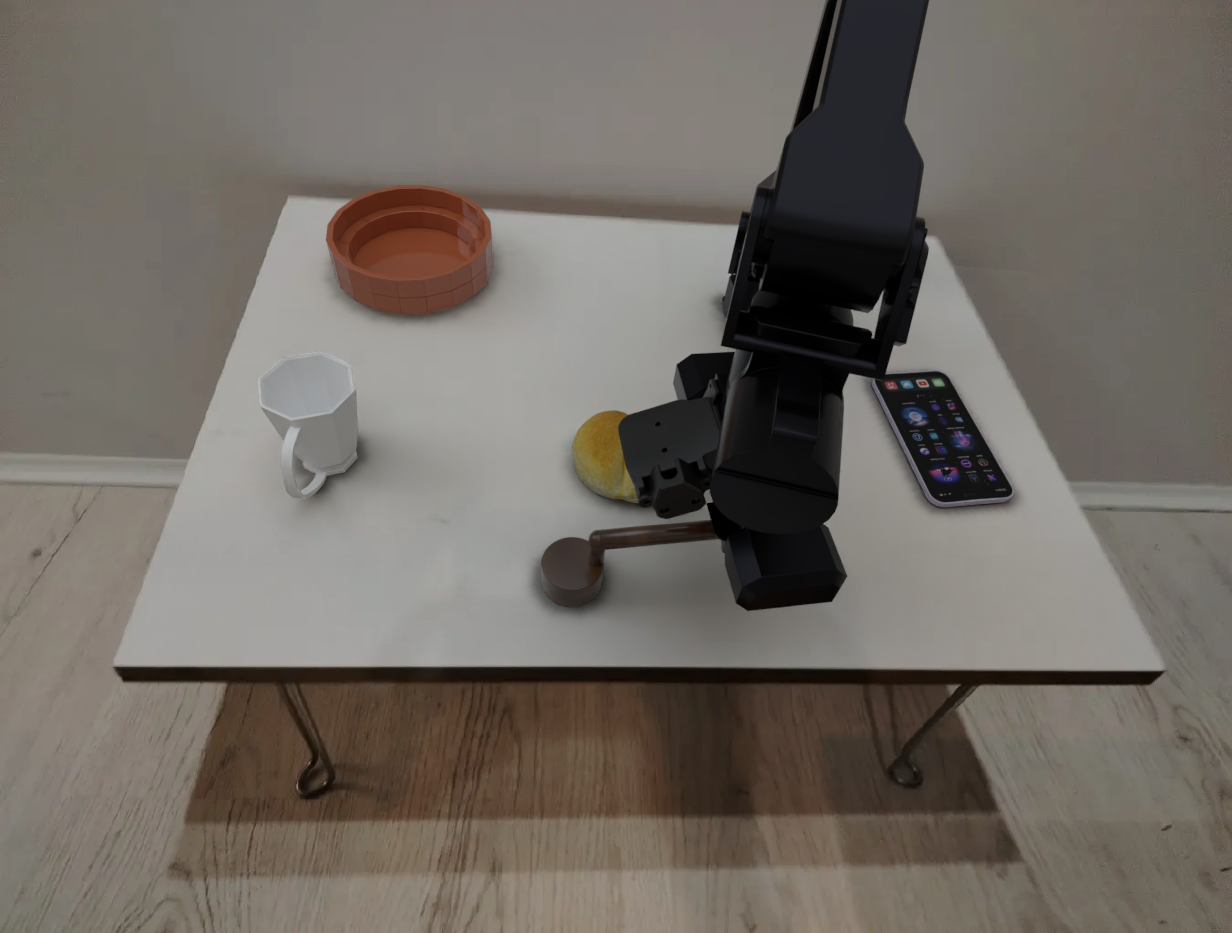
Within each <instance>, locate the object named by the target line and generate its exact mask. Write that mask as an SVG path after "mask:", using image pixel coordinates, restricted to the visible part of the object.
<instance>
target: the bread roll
mask: <svg viewBox="0 0 1232 933" xmlns="http://www.w3.org/2000/svg"><path fill="white" fill-rule="evenodd" d="M628 415H629V414H627V413H626V412H624V411H621V410H616V409H615V410H604V411H601V412H598V413H596V414H594V415H592V416H591V417H590V418H588V419H587V420H586V421H585V422H584V423H583V424H582V425H581V426H580V427H579V428H578V430H577V432H576V433H575V435H574V438H573V440H572V443H571V444H572V446H571V456H572V461H573V465H574V469H575V471H576V474H577V475H578V477H579V479H580V480H581V481H582V483H583V484H584V485H585V486H586V487H588V489H590V491H592V492H594V493H595V494H597V495H600V496H601V497H604V498H607V499H612V500H622V501H623V500H624V501H626V502H629V503H633V504H638V499H637V494H636V490H635V487H634V485H633V483H632V480H631V478H630V476H629V474H628V471H627V469H626V465H625V461H624V456H623V451H622V446H621V442H620V437H619V432H618V426H619V423H620V422H621V420H622V419H623V418H625V417H626V416H628Z"/></svg>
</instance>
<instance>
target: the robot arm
mask: <svg viewBox="0 0 1232 933" xmlns="http://www.w3.org/2000/svg"><path fill="white" fill-rule="evenodd" d="M929 3H930V0H825V1H824V4H823V8H822V12H821V16H820V19H819V23H818V27H817V30H816V34H815V37H814V42H813V45H812V49H811V52H810V56H809V60H808V64H807V68H806V72H805V75H804V79H803V81H802V82H803V83H802V86H801V90H800V94H799V97H798V101H797V105H796V108H795V111H794V116H793V119H792V123H791V127H790V131H789V133H788V134H787V135H786V136H785V139H784V143H783V146H782V149H781V153H780V156H779V159H778V163H777V166H776V170H774V171H773V172H771V173H770V174H769V175H768V176H767V177H766V178H763V180H762V181H760V183H758V184H757V185H756V188H755V191H754V195H753V198H752V203H751V208H750V211H748V210H747V211H746V210H742V211H741V214H740V219H739V223H738V227H737V232H736V236H735V240H734V245H733V249H732V253H731V257H730V261H729V266H728V270H727V274H728V275H729V276H728V282H727V285H726V288H725V289H726V290H725V294H724V296H722V298H721V305H722V307H721V309H722V312H723V314H724V318H725V323H724V328H723V333H722V337H721V342H720V347H724V348H728V349H733V350H735V351H719V352H701V353H700V352H698V353H691V354H689V355H688V356H686V357H685V358H683V359H682V360H680V361H679V362H678V363H676V366H675V369H674V370H675V371H674V376H673V381H672V385H673V388H674V391H675V395H676V398H677V399H675V400H671V401H669V402H666V403H663V404H659V405H655V406H652V407H649V408H646V409H642V410H640V411H635V412H633V413H629V414H628V416H626V417H625V418H623V419H622V420H621V422H620V423H619V426H618V432H619V437H620V442H621V446H622V451H623V456H624V461H625V465H626V469H627V471H628V474H629V476H630V478H631V480H632V483H633V485H634V487H635V490H636V494H637V499H638V503H637V504H638V506H639V507H641V508H644V509H645V508H650V507H651V508H653V510H654V512H655V515H656V517H657V518H659V519H664V520H669V519H674V518H676V517H680V516H684V515H688V514H690V513H694V512H697V511H700V510H701V509H703V507H704V506H706V507H707V511H708V514H709V518H710V520H711V522H712V525H713V529H714V532H715V535H716V536H717V538H718V540H719V541H720V550H721V553H722V554H723V556H724V568H725V571H726V573H727V577H728V581H729V585H730V588H731V591H732V594H733V598H734V602H735V604H736V605H738V606H739V607H740V608H742V609H744V610H745V611H746V612H752V611H762V610H771V609H780V608H789V607H796V606H797V607H799V606H808V605H816V604H817V605H818V604H826V603H827V604H828V603H833V601H834V599H835V598H836V596H837V595H838V593H839V591H840V589H841V588H842V586H843V584H844V583H845V581H846V579H847V578H848V574H847V571H846V569H845V567H844V566H845V565H844V564H843V561H842V559H841V556H840V554H839V551H838V548H837V546H836V543H835V541H834V538H833V536H832V533H831V530H830V528H829V527H828V526H827V525H826V524H825V523H826V522H828V521H829V520H830V519H831V518H832V517H833V515H834V514H835V513H836V511H837V508H838V505H839V498H840V483H841V480H840V479H841V466H842V465H841V464H842V448H843V432H844V416H845V414H844V413H845V399H844V398H845V397H844V388H845V385H846V383H847V380H848V378H849V376H850V375H854V376H858V377H862V378H868V379H872V380H873V379H877V380H883V379H884V376H885V374H886V373H887V370H888V367H889V363H890V360H891V356H892V354H893V349H894V346H896V347H901V346H904V345H907V342H908V338H909V334H910V330H911V325H912V321H913V317H914V314H915V310H916V305H917V301H918V297H919V293H920V289H921V285H922V282H923V277H924V273H925V269H926V265H927V261H928V256H929V252H930V247H929V244H928V243H927V241H926V239H927V235H928V230H929V229H928V228H927V227H926V219H925V218H924V217H921V216H917V214H918V208H919V202H920V195H921V188H922V183H923V176H924V170H925V163H924V159H923V157H922V155H921V153H920V151H919V148H918V147H917V144H916V142H915V140H914V138H913V136H912V134H911V132H910V129H909V128H908V126H907V123H906V118H907V117H906V116H907V110H908V105H909V99H910V93H911V89H912V84H913V80H914V75H915V70H916V66H917V62H918V61H917V60H918V56H919V52H920V47H921V46H920V45H921V41H922V36H923V32H924V28H925V23H926V19H927V18H926V17H927V14H928V7H929ZM881 295H882V296H881ZM881 297H882V298H881ZM880 298H881V301H880V307H879V312H878V317H877V321H876V326H875V330H874V336H873V332H872V331H871V330H870V329H868V328H865V327H860V326H855V325H854V316H853V312H852V311H854V312H860V313H866V314H869V313H871V311H873V310H874V308H875V307H876V305H877V303H878V301H879V300H880ZM707 491H709V496H710V498H711V500H712V502H711V501H710V502H707V499H706V497H705V496H706V495H705V493H706V492H707Z"/></svg>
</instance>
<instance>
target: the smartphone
mask: <svg viewBox="0 0 1232 933" xmlns="http://www.w3.org/2000/svg"><path fill="white" fill-rule="evenodd" d="M871 387H872V389H873V391H874V394H875V395H876V398H877V399H878V402H879V403H880V405H881V407H882V409H883V411H884V412H885V415H886V418H887V420H888V422H889V424H890V426H891V428H892V430H893V432H894V434H895V435H896V438H897V440H898V442H899V444H900V446H901V448H902V450H903V453H904V454H905V456H906V459H907V460H908V463H909V464H910V467H911V469H912V471H913V473H914V475H915V477H916V480H918V483H919V485H920V487H921V490H922V491H923V493H924V495H925V497H926V499H927V500H928V501H929V503H931V504H933V505H934V506H936V507H939V508H953V507H962V506H972V505H985V504H986V505H987V504H998V503H1006V502H1009V500H1011V498H1012V497H1013V496H1014V494H1015V489H1014V487H1013V485H1012V483H1011V481H1010V479H1009V478H1008V475H1007V473H1005V470H1004V469H1003V468H1002V466H1001V464H1000V462H999V460H998V459H997V457H996V455H995V453H994V452H993V451H992V448H991V447H990V445H989V443H988V441H987V440H986V438H985V436H984V435H983V432H982V431H981V429H980V428H979V426H978V424H977V422H976V421H975V419H974V417H973V415H972V414H971V412H970V410H969V408H968V406H967V405H966V404H965V402H964V400H963V398H962V397H961V395H960V392H959V391H958V390H957V388H956V386H955V384H954V383H953V381H952V379H951V378H950V376H949V375H948V374H947V373H946V372H944V371H941V370H937V369H930V370H929V369H927V370H916V371H915V370H911V371H895V372H886V374H885V376H884V379H883V380H877V379H872V380H871Z"/></svg>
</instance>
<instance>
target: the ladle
mask: <svg viewBox="0 0 1232 933" xmlns="http://www.w3.org/2000/svg"><path fill="white" fill-rule="evenodd" d="M717 540H719V539H718V538H717V536H716V535H715V532H714V529H713V525H712V522H711V519H705V520H696V521H695V520H694V521H693V520H692V521H684V522H683V521H682V522H673V523H672V522H671V523H670V522H669V523H660V524H650V525H649V524H647V525H637V526H627V527H626V526H625V527H613V528H604V529H603V528H602V529H596V530H593V531H592V532H591V533H590V534H589V535H588V540H587V539H585V538H582V537H575V536H568V537H562V538H560V539H557V540H555V541H554V542H552V543H551V544H549V546H547V547H546V548H545V549H544V551H543V554H542V555H541V556H542V557H541V560H540V562H541V563H540V584H541V587H542V590H543V592H544V594H545V595H546V596H547V597H548V599H549V600H551V601H552V602H554V603H556V604H557V605H560V606H563V607H569V608H570V607H575V608H576V607H580V606H583V605H586V604H589V602H591V601H593V600H594V599H595V597H596V596H597V595H598V594H599V592H600V590H601V588H602V583H603V576H604V575H603V574H604V565H605V564H604V563H605V562H604V560H605V554H606V551H607V550H609V551H610V550H618V549H630V548H640V547H641V548H642V547H651V546H652V547H653V546H663V545H672V544H683V543H684V544H686V543H695V542H705V541H717Z"/></svg>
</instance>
